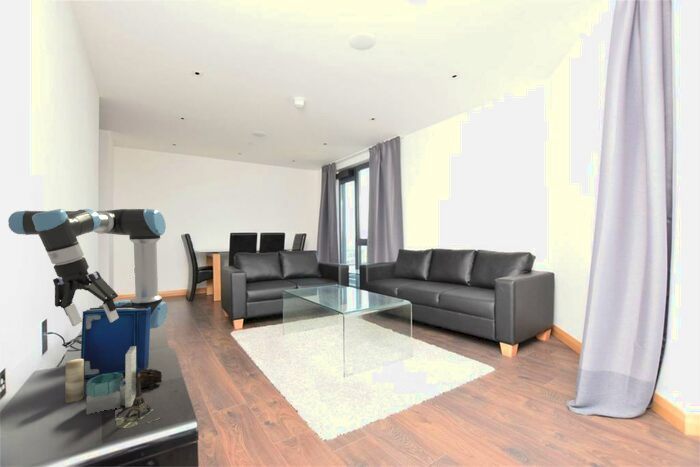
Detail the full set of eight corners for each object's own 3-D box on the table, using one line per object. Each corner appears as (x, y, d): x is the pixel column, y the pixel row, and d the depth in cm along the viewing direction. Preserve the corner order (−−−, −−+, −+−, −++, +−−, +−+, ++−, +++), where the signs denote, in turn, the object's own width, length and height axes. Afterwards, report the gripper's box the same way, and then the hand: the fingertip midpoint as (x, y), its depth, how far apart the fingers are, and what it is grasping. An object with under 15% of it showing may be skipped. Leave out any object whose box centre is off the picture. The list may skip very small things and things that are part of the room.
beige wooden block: (68, 397, 101) (68, 360, 101) (85, 394, 103) (85, 357, 103) (62, 403, 97) (63, 365, 98) (80, 400, 99) (81, 362, 99)
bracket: (92, 403, 98) (92, 351, 98) (135, 395, 103) (136, 345, 103) (83, 416, 90) (84, 360, 90) (131, 407, 95) (131, 354, 95)
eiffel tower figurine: (112, 411, 94) (113, 366, 94) (152, 400, 100) (152, 358, 100) (117, 435, 82) (117, 384, 82) (161, 420, 89) (161, 373, 89)
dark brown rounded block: (96, 400, 100) (97, 382, 100) (101, 391, 106) (101, 375, 106) (161, 387, 108) (161, 370, 108) (162, 379, 114) (162, 364, 114)
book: (152, 365, 127) (153, 303, 127) (147, 372, 120) (147, 307, 120) (87, 373, 120) (88, 307, 120) (78, 381, 113) (79, 311, 114)
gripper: (20, 270, 93) (51, 332, 99) (93, 260, 89) (120, 325, 95) (46, 261, 100) (73, 319, 106) (115, 251, 96) (139, 312, 102)
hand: (95, 322), depth 100 cm, fingers open, 13 cm apart
